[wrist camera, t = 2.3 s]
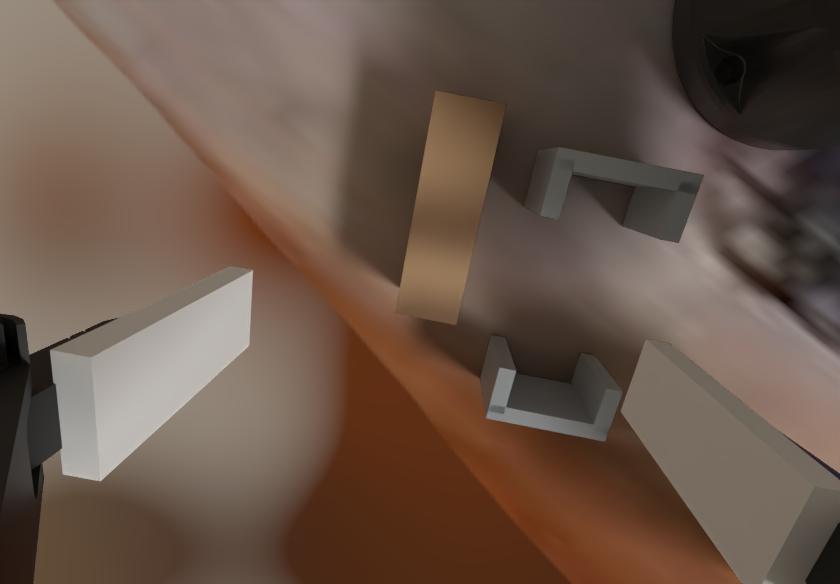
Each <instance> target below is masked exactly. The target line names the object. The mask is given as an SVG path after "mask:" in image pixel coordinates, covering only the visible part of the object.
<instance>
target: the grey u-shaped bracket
mask: <svg viewBox="0 0 840 584" xmlns="http://www.w3.org/2000/svg"><path fill="white" fill-rule="evenodd" d="M572 174H573V175H578V176H583V177H588V178H594V179H599V180H604V181H609V182H614V183H619V184H624V185H630V186H635V189H634V192H633V195H632V198H631V201H630V204H629V207H628V210H627V213H626V216H625V219H624V222H623V225H622V226H623V227H626V228H629V229H632V230H635V231H637V232H640V233H643V234H646V235H649V236H652V237H655V238H658V239H661V240H666V241H671V242H676V243H679V241H680V238H681V235H682V233H683V230H684V227H685V225H686V222H687V219H688V217H689V214H690V211H691V209H692V206H693V203H694V200H695V198H696V195H697V192H698V190H699V187H700V184H701V182H702V179H703V176H704V175H702V174H696V173H691V172H686V171H681V170H676V169H671V168H665V167H660V166H655V165H650V164H645V163H640V162H635V161H629V160H624V159H619V158H614V157H609V156H604V155H598V154H593V153H588V152H583V151H578V150H573V149H567V148H562V147H555V148H549V149H543V150H538V153H537V157H536V161H535V165H534V169H533V173H532V176H531V180H530V184H529V188H528V192H527V196H526V200H525V204H524V207H525V208H526V209H528V210H530V211H532V212H534V213H536V214H537V215H539V216H543V217H548V218H553V219H558V220H559V217H560V214H561V210H562V207H563V203H564V200H565V196H566V193H567V189H568V186H569V182H570V178H571V175H572Z"/></svg>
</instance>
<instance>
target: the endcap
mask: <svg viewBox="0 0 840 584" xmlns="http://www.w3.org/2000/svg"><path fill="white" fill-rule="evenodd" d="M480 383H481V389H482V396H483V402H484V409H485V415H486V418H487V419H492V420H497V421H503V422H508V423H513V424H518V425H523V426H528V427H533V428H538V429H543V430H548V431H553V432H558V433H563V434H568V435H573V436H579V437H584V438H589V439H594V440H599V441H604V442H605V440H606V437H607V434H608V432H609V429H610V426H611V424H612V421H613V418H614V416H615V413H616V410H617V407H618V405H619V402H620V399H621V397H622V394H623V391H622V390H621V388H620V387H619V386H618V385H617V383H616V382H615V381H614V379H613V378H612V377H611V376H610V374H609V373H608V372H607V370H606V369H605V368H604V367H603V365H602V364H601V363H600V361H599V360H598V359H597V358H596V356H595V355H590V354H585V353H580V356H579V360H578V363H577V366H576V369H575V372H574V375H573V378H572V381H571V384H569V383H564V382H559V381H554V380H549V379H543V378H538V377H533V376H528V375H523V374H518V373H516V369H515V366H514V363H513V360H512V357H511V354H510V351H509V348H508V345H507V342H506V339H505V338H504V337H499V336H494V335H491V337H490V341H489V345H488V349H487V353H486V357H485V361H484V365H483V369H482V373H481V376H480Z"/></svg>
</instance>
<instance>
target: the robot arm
mask: <svg viewBox="0 0 840 584" xmlns="http://www.w3.org/2000/svg"><path fill="white" fill-rule="evenodd" d="M673 47H674V54H675V60H676V65H677V69H678V72H679V76H680V78H681V81H682V84H683V86H684V88H685V90H686V92H687V94H688V96H689V98H690V100H691V101H692V103H693V104H694V106H695V107H696V108H697V110H698V111H699V112H700V113H701V115H702V116H703V117H704V118H705V119H706V120H707V121H708V122H709V123H710V124H711V125H713V126H714V127H715V128H716V129H718V130H719V131H721V132H722V133H724V134H725V135H727V136H729V137H731V138H732V139H734V140H737V141H739V142H741V143H744V144H747V145H750V146H754V147H758V148H763V149H770V150H805V149H822V148H831V147H837V146H840V0H676V1H675V8H674V16H673ZM252 275H253V270H248V269H243V268H237V267H228V268H226V269H223V270H221V271H219V272H217V273H215V274H213V275H211V276H208V277H206V278H204V279H202V280H200V281H197V282H195V283H193V284H191V285H189V286H187V287H185V288H182V289H180V290H179V291H176V292H174V293H172V294H170V295H167V296H166V297H163V298H161V299H159V300H157V301H154V302H152V303H150V304H148V305H146V306H144V307H142V308H140V309H137V310H135V311H133V312H131V313H129V314H127V315H124V316H122V317H120V318H116V319H111V320H107V321H103V322H101V323H99V324H97V325H94V326H92V327H90V328H88V329H86V330H85V332H84V331H81V332H79V333H77V334H75V335H72V336H71V337H70V339H68V338H66V339H64V340H62V341H59V342H57V343H55V344H53V345H50V346H48V347H46V348H44V349H42V350H40V351H37V352H35V353H33V354H31V355H29V351H28V342H27V334H26V327H25V322H24V320H23V319H21V318H19V317H16V316H14V315H6V314H0V584H33V581H34V571H35V562H36V552H37V542H38V532H39V522H40V512H41V502H42V493H43V483H44V474H43V466H42V463H43V462H44V461H45V460H47V459H48V458H49V457H51V456H52V455H53V454H55V453H56V452H58V451H59V450H61V460H62V470H63V475H69V476H74V477H80V478H86V479H91V480H96V481H101V480H102V479H103V478H105V477H106V476H107V475H108V474H109V473H110V472H111V471H112V470H113V469H114V468H115V467H117V466H118V465H119V464H120V463H121V462H122V461H123V460H124V459H125V458H126V457H128V456H129V455H130V454H131V453H132V452H133V451H134V450H135V449H136V448H137V447H139V446H140V445H141V444H142V443H143V442H144V441H145V440H146V439H147V438H148V437H149V436H151V435H152V434H153V433H154V432H155V431H156V430H157V429H158V428H159V427H160V426H161V425H163V424H164V423H165V422H166V421H167V420H168V419H169V418H170V417H171V416H173V415H174V414H175V413H176V412H177V411H178V410H179V409H180V408H181V407H182V406H183V405H185V404H186V403H187V402H188V401H189V400H190V399H191V398H192V397H193V396H194V395H196V394H197V393H198V392H199V391H200V390H201V389H202V388H203V387H204V386H205V385H207V384H208V383H209V382H210V381H211V380H212V379H213V378H214V377H215V376H216V375H217V374H219V373H220V372H221V371H222V370H223V369H224V368H225V367H226V366H227V365H229V364H230V363H231V362H232V361H233V360H234V359H235V358H236V357H237V356H238V355H240V354H241V353H242V352H243V351H244V350H245V349H246V348H247V347H248V346H249V340H250V319H251V298H252ZM621 413H622V414H623V416H624V417H625V419H626V420H627V421H628V423H629V424H630V426H631V427H632V429H633V430H634V431H635V433H636V434H637V436H638V437H639V438H640V440H641V441H642V443H643V444H644V446H645V447H646V448H647V450H648V451H649V453H650V454H651V456H652V457H653V458H654V460H655V461H656V463H657V464H658V465H659V467H660V468H661V470H662V471H663V473H664V474H665V475H666V477H667V478H668V480H669V481H670V482H671V484H672V485H673V487H674V488H675V490H676V491H677V492H678V494H679V495H680V497H681V498H682V500H683V501H684V502H685V504H686V505H687V507H688V508H689V509H690V511H691V512H692V514H693V515H694V517H695V518H696V519H697V521H698V522H699V524H700V525H701V526H702V528H703V529H704V531H705V532H706V534H707V535H708V536H709V538H710V539H711V541H712V542H713V544H714V545H715V546H716V548H717V549H718V551H719V552H720V553H721V555H722V556H723V558H724V559H725V561H726V562H727V563H728V565H729V566H730V568H731V569H732V570H733V572H734V573H735V575H736V576H737V578H738V579H739V580H740V582H741V583H742V584H806V583H807V584H840V480H839V479H838V478H837V477H835V476H834V475H833V474H832V473H830V472H829V471H828V470H827V469H825V468H824V467H823V466H822V465H820V464H819V463H818V462H817V461H815V460H814V459H813V458H812V457H810V456H809V455H808V454H807V453H805V452H804V451H803V450H802V449H800V448H799V447H798V446H797V445H795V444H794V443H793V442H792V441H790V440H789V439H788V438H787V437H785V436H784V435H783V434H782V433H780V432H779V431H778V430H777V429H775V428H774V427H773V426H772V425H770V424H769V423H768V422H767V421H765V420H764V419H763V418H762V417H760V416H759V415H758V414H757V413H755V412H754V411H753V410H752V409H750V408H749V407H748V406H747V405H746V404H744V403H743V402H742V401H741V400H739V399H738V398H737V397H736V396H734V395H733V394H732V393H731V392H729V391H728V390H727V389H726V388H724V387H723V386H722V385H721V384H719V383H718V382H717V381H716V380H714V379H713V378H712V377H711V376H709V375H708V374H707V373H706V372H704V371H703V370H702V369H701V368H699V367H698V366H697V365H696V364H694V363H693V362H692V361H691V360H689V359H688V358H687V357H686V356H684V355H683V354H682V353H681V352H679V351H678V350H677V349H676V348H674V347H673V346H672V345H671V344H669V343H665V342H659V341H653V340H648V339H646V340H645V343H644V346H643V349H642V352H641V355H640V357H639V360H638V363H637V366H636V369H635V372H634V375H633V377H632V380H631V383H630V386H629V389H628V392H627V395H626V397H625V400H624V403H623V406H622V409H621Z"/></svg>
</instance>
